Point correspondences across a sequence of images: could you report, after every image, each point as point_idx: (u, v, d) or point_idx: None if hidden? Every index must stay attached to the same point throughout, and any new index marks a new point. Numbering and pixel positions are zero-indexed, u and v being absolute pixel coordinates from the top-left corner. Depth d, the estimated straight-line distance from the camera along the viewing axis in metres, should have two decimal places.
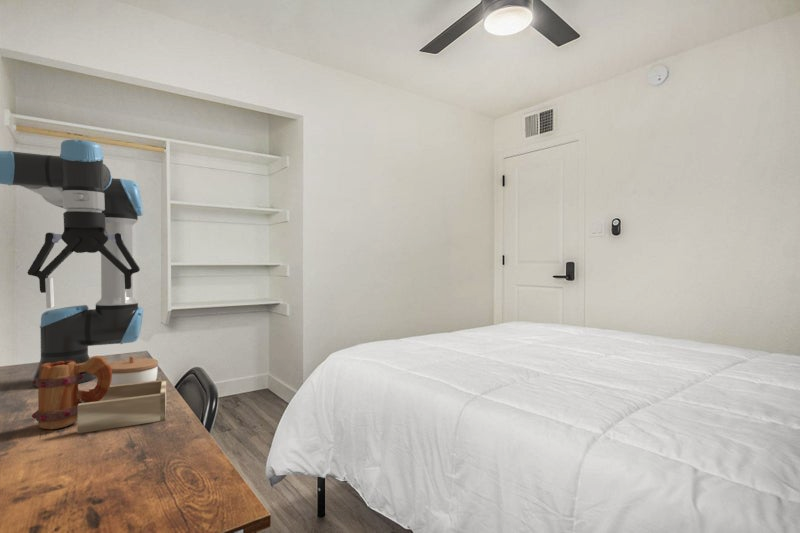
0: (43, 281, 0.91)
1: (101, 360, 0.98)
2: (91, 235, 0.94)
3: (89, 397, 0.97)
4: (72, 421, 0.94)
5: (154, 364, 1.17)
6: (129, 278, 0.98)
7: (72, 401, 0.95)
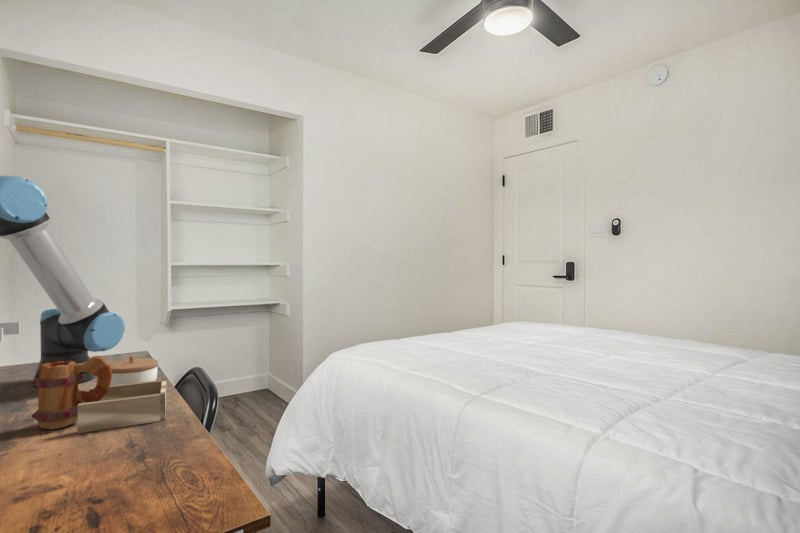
0: None
1: (101, 360, 0.98)
2: None
3: (89, 397, 0.97)
4: (72, 421, 0.94)
5: (154, 364, 1.17)
6: None
7: (72, 401, 0.95)
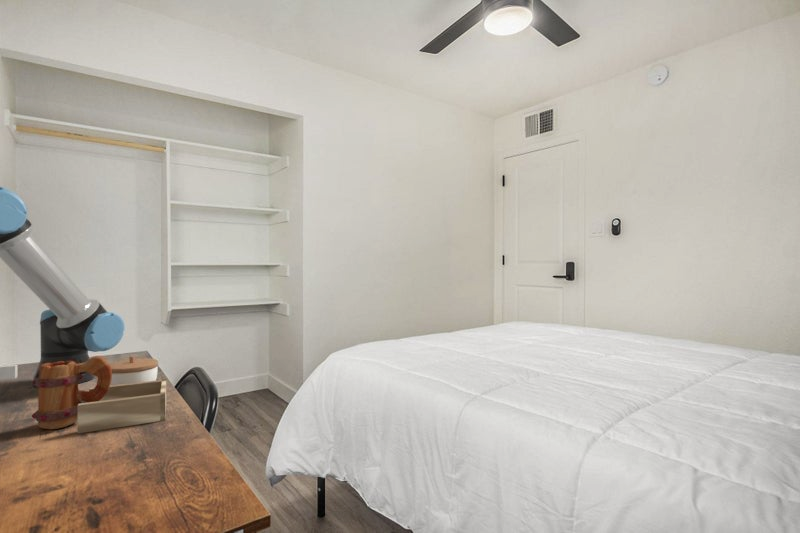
0: None
1: (101, 360, 0.98)
2: None
3: (89, 397, 0.97)
4: (72, 421, 0.94)
5: (154, 364, 1.17)
6: None
7: (72, 401, 0.95)
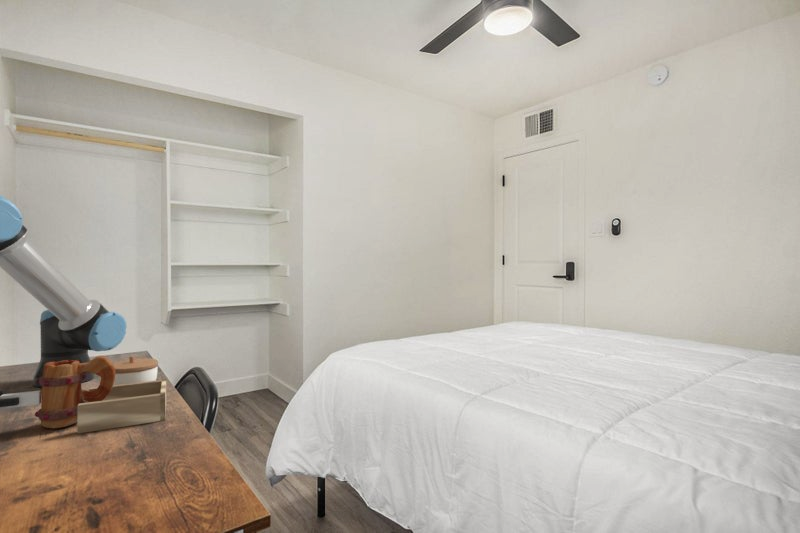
0: None
1: (105, 360, 0.98)
2: None
3: (92, 397, 0.97)
4: (74, 421, 0.95)
5: (154, 364, 1.17)
6: None
7: (75, 401, 0.95)
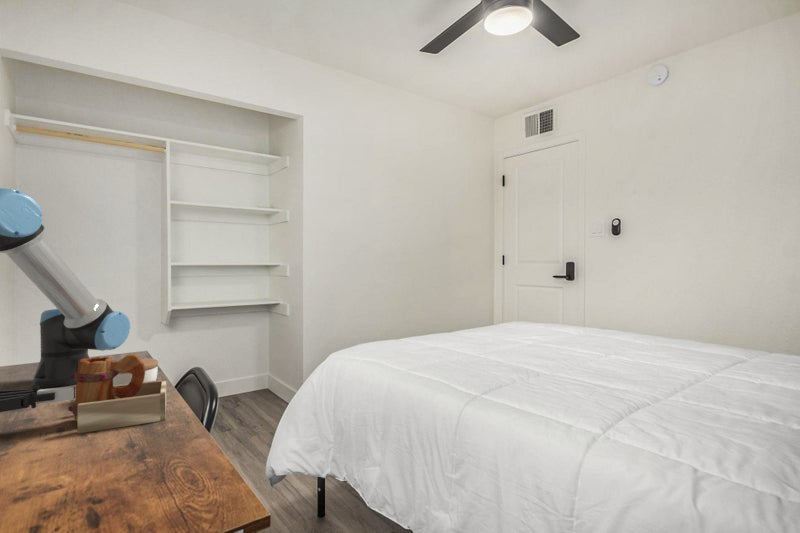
0: None
1: (136, 358, 1.01)
2: None
3: (123, 394, 1.00)
4: None
5: (154, 364, 1.17)
6: None
7: (107, 397, 0.98)
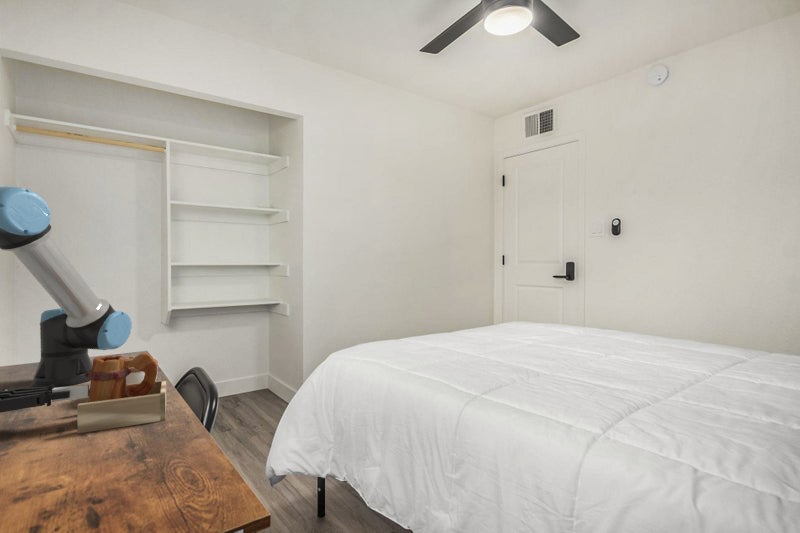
0: None
1: (149, 357, 1.03)
2: None
3: (136, 392, 1.02)
4: None
5: None
6: None
7: (120, 395, 0.99)
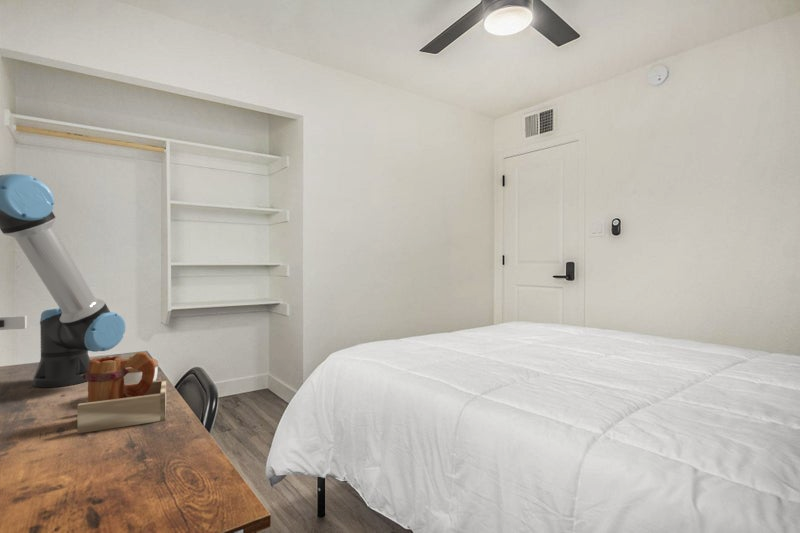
0: None
1: (145, 356, 1.02)
2: None
3: (135, 392, 1.02)
4: None
5: (154, 364, 1.17)
6: None
7: (119, 395, 0.99)
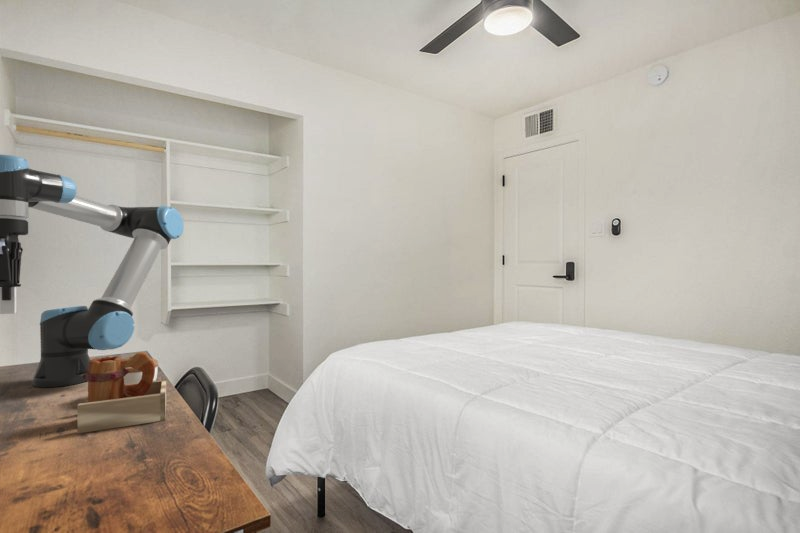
0: None
1: (145, 356, 1.02)
2: None
3: (135, 392, 1.02)
4: None
5: (154, 364, 1.17)
6: None
7: (119, 395, 0.99)
